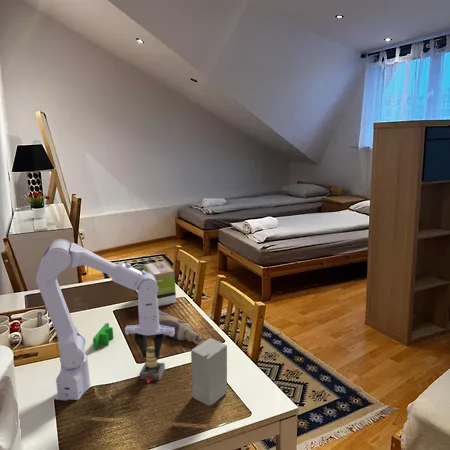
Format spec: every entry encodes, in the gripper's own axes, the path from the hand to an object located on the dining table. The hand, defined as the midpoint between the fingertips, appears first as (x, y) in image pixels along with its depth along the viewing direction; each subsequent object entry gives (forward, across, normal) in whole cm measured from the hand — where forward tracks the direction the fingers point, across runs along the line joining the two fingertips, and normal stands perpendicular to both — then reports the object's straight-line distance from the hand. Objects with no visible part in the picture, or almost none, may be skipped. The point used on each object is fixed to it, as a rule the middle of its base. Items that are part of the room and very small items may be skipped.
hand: (151, 356), depth 126 cm
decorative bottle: (+7, 0, -25) cm, 26 cm away
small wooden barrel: (+3, 0, 0) cm, 3 cm away
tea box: (+7, +13, -57) cm, 59 cm away
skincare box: (+7, -19, +8) cm, 22 cm away
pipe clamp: (+7, +23, -18) cm, 30 cm away
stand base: (+7, 0, 0) cm, 7 cm away
